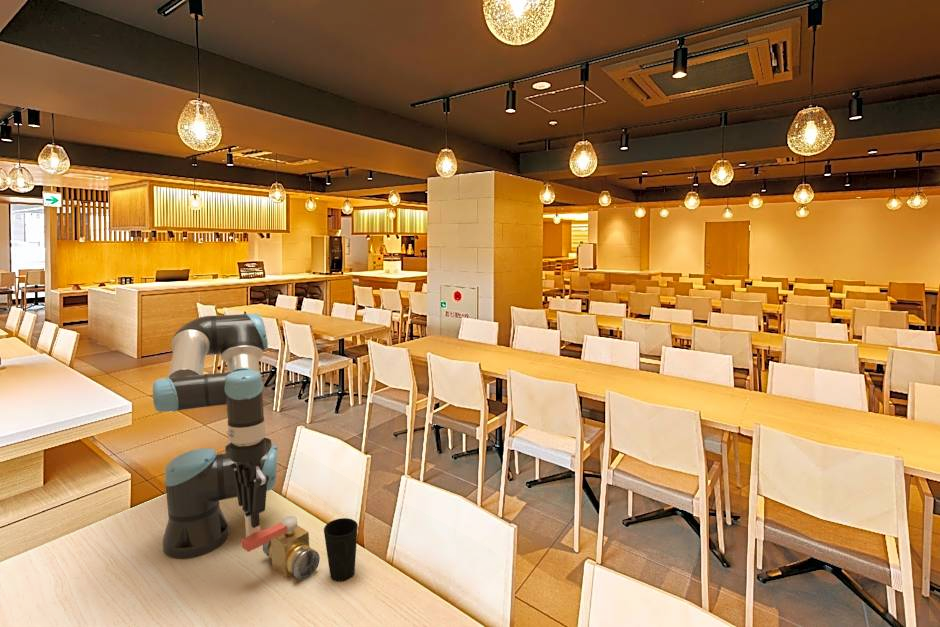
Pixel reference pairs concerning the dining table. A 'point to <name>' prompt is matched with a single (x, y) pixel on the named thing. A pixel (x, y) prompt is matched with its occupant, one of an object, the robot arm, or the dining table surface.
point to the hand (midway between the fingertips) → (253, 537)
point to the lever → (269, 533)
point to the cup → (341, 548)
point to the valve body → (293, 554)
